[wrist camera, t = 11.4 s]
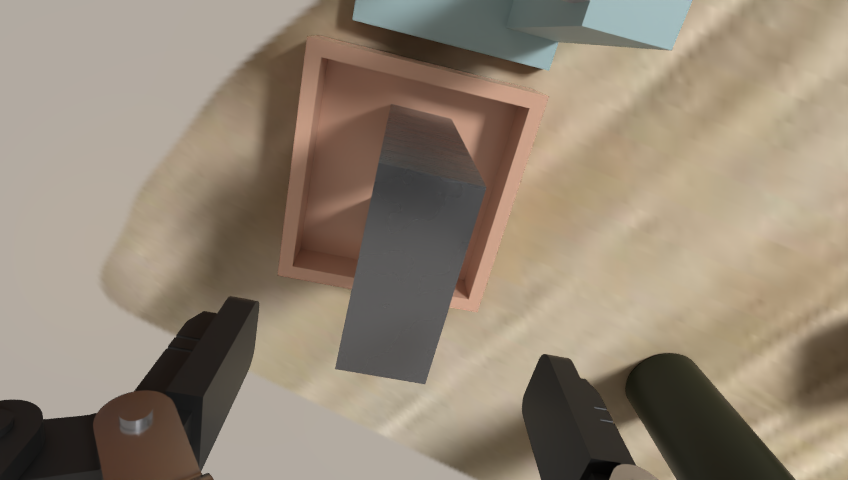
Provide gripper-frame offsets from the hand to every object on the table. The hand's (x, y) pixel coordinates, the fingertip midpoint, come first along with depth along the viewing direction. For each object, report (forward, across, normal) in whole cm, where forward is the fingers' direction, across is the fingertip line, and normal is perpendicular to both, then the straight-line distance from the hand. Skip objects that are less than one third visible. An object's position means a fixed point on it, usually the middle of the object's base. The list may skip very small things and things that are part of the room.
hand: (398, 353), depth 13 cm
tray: (+18, 0, 0) cm, 18 cm away
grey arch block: (+17, 0, 0) cm, 17 cm away
